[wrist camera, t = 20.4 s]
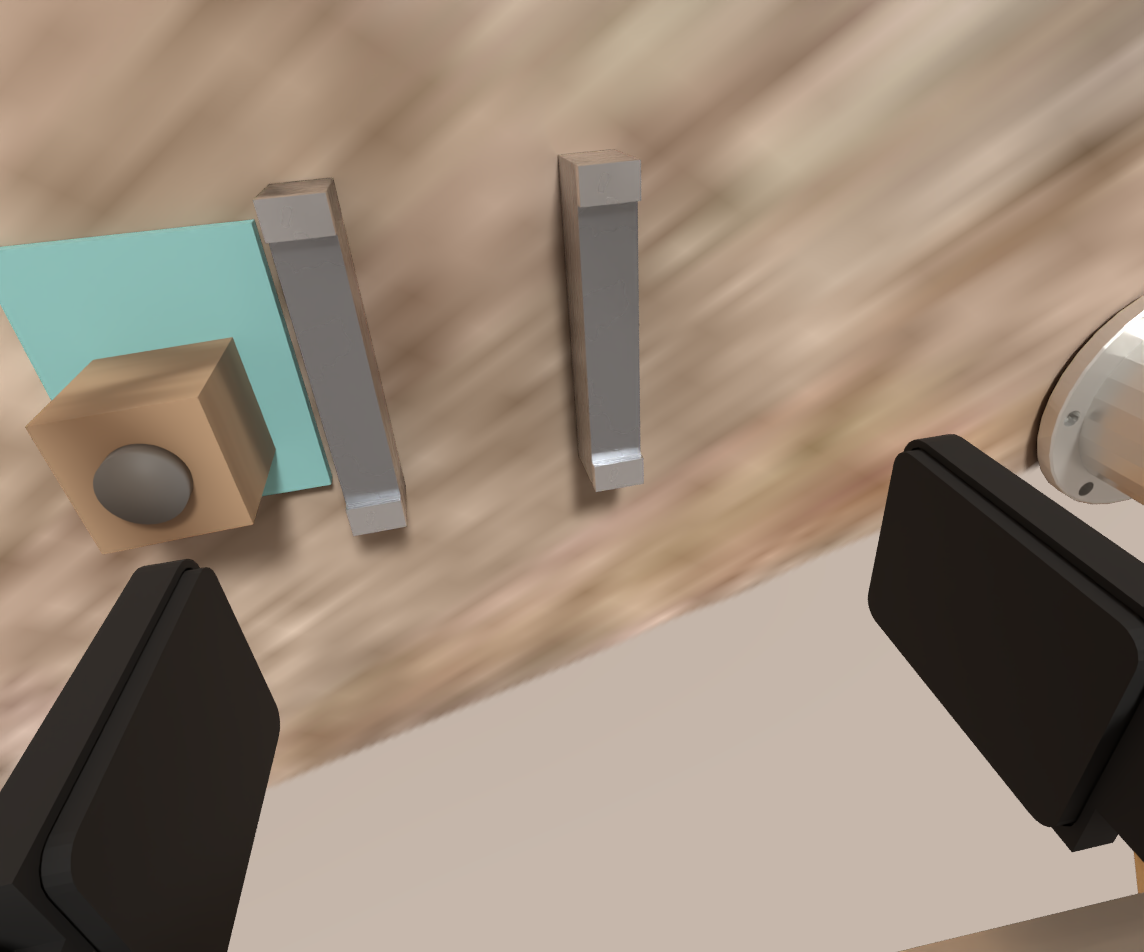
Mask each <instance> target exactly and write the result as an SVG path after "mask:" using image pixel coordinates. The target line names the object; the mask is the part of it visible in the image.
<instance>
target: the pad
mask: <svg viewBox="0 0 1144 952" xmlns="http://www.w3.org/2000/svg"><path fill="white" fill-rule="evenodd" d="M0 305H1V307H2V308H3V310H4V312H5V314H6V316H7V318H8V320H9V322H10V324H11V325H12V327H13V329H14V331H15V333H16V335H17V337H18V339H19V341H20V342H21V344H22V346H23V348H24V350H25V352H26V354H27V356H28V358H29V359H30V361H31V363H32V365H33V367H34V369H35V371H36V373H37V374H38V376H39V378H40V380H41V382H42V384H43V386H44V388H45V390H46V391H47V393H48V395H49V397H50V399H51V401H52V400H53V399H54V398H55V397H56V396H57V395H58V394H59V393H60V392H61V391H62V390H63V389H64V388H65V387H66V386H67V385H68V384H69V383H70V382H71V381H72V380H73V379H74V378H75V377H76V376H77V375H78V374H79V373H80V372H81V371H82V370H83V369H84V368H85V367H86V366H87V365H88V364H89V363H90V362H91V361H92V360H95V359H101V358H107V357H113V356H119V355H126V354H132V353H138V352H144V351H150V350H156V349H162V348H169V347H175V346H181V345H187V344H193V343H199V342H206V341H212V340H218V339H224V338H230V337H233V339H234V342H235V345H236V347H237V350H238V352H239V355H240V358H241V360H242V363H243V365H244V368H245V370H246V373H247V376H248V378H249V381H250V383H251V386H252V389H253V391H254V394H255V396H256V399H257V402H258V404H259V407H260V409H261V412H262V415H263V417H264V420H265V422H266V425H267V427H268V430H269V433H270V435H271V438H272V440H273V443H274V446H275V448H276V451H275V454H274V457H273V461H272V464H271V467H270V471H269V474H268V477H267V481H266V484H265V487H264V491H263V494H262V496H267V495H272V494H278V493H284V492H290V491H296V490H302V489H308V488H314V487H320V486H326V485H331V483H332V474H331V471H330V468H329V464H328V461H327V458H326V454H325V451H324V448H323V444H322V441H321V438H320V434H319V431H318V428H317V425H316V421H315V418H314V415H313V411H312V408H311V405H310V401H309V398H308V395H307V392H306V388H305V385H304V382H303V378H302V375H301V372H300V368H299V365H298V362H297V359H296V355H295V352H294V349H293V345H292V342H291V339H290V335H289V332H288V329H287V326H286V322H285V319H284V316H283V312H282V309H281V306H280V302H279V299H278V296H277V293H276V289H275V286H274V283H273V279H272V276H271V273H270V269H269V266H268V263H267V260H266V256H265V253H264V250H263V246H262V243H261V240H260V236H259V233H258V230H257V226H256V223H255V220H244V221H235V222H226V223H217V224H207V225H198V226H189V227H180V228H171V229H161V230H152V231H143V232H134V233H124V234H115V235H106V236H97V237H87V238H78V239H69V240H60V241H50V242H41V243H32V244H23V245H13V246H4V247H0Z"/></svg>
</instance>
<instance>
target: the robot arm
mask: <svg viewBox="0 0 1144 952" xmlns="http://www.w3.org/2000/svg"><path fill="white" fill-rule="evenodd" d="M1037 457H1038V461H1039V465H1040V469H1041V471H1042V473H1043V475H1044V476H1045V478H1046V479H1047V481H1048V482H1049V483H1050V484H1051V485H1053V486H1054V487H1055V488H1056V489H1057V490H1059V491H1060V492H1062V493H1064V494H1065V495H1067V496H1068V497H1070V498H1072V499H1074V500H1076V501H1079V502H1084V503H1089V504H1110V503H1114V502H1119V501H1124V500H1129V499H1131V498H1132V499H1134V500H1136V501H1138V502H1139V503H1141V504H1142V505H1144V295H1143V296H1141V297H1140V298H1139V299H1137V300H1136V301H1134V302H1133V303H1131V304H1130V305H1128V306H1127V307H1126V308H1124V309H1123V310H1121V311H1120V312H1119V313H1117V314H1116V315H1115V316H1114V317H1113V318H1112V319H1111V320H1109V321H1108V322H1107V323H1106V324H1105V325H1104V326H1103V327H1102V328H1100V329H1099V330H1098V331H1097V332H1096V333H1095V334H1094V335H1093V337H1092V338H1091V339H1090V340H1089V341H1088V342H1087V343H1086V344H1085V345H1084V346H1083V348H1082V349H1081V350H1080V351H1079V352H1078V353H1077V355H1076V356H1075V357H1074V359H1073V360H1072V362H1071V363H1070V364H1069V366H1068V367H1067V368H1066V370H1065V371H1064V373H1063V374H1062V376H1061V377H1060V379H1059V381H1058V383H1057V385H1056V386H1055V388H1054V390H1053V392H1052V394H1051V395H1050V398H1049V400H1048V403H1047V405H1046V408H1045V410H1044V413H1043V415H1042V419H1041V423H1040V428H1039V433H1038V438H1037ZM868 605H869V609H870V611H871V614H872V616H873V618H874V620H875V621H876V622H877V624H878V625H879V626H880V627H881V629H882V630H883V631H884V632H885V634H886V635H887V636H888V637H889V639H890V640H891V641H892V642H893V644H894V645H895V646H896V647H897V649H898V650H899V651H900V652H901V654H902V655H903V656H904V657H905V659H906V660H907V661H908V662H909V664H910V665H911V666H912V667H913V668H914V670H915V671H916V672H917V673H918V675H919V676H920V677H921V679H922V680H923V681H924V682H925V683H926V685H927V686H928V687H929V689H930V690H931V691H932V692H933V693H934V695H935V696H936V697H937V698H938V700H939V701H940V702H941V704H943V706H944V707H945V708H946V710H947V711H948V712H949V714H950V715H951V716H952V717H953V719H954V720H955V721H956V722H957V723H958V725H959V726H960V727H961V729H962V730H963V731H964V732H965V733H966V735H967V736H968V737H969V738H970V740H971V741H972V742H973V743H974V745H975V746H976V747H977V748H978V750H979V751H980V752H981V753H982V755H983V756H984V757H985V758H986V760H987V761H988V762H989V763H990V765H991V766H992V767H993V768H994V770H995V771H996V772H997V773H998V775H999V776H1000V777H1001V778H1002V780H1003V781H1004V782H1005V783H1006V785H1007V786H1008V787H1009V788H1010V789H1011V791H1012V792H1013V793H1014V795H1015V796H1016V797H1017V798H1018V800H1019V801H1020V802H1021V803H1022V804H1023V806H1024V807H1025V808H1026V810H1027V811H1028V812H1029V813H1030V814H1031V815H1032V816H1033V818H1034V819H1035V820H1036V821H1038V822H1039V823H1041V824H1042V825H1044V826H1047V827H1052V828H1053V829H1054V831H1055V832H1056V833H1057V834H1058V836H1059V837H1060V838H1061V839H1062V841H1063V842H1064V843H1065V844H1066V846H1067V847H1068V848H1069V849H1070V850H1071V852H1075V851H1080V850H1084V849H1088V848H1092V847H1096V846H1101V845H1104V844H1109V843H1113V842H1114V840H1115V839H1116V837H1117V835H1118V834H1119V835H1120V836H1121V838H1122V839H1123V840H1124V841H1125V842H1126V843H1127V844H1128V845H1129V847H1130V848H1131V849H1132V850H1133V851H1134V859H1135V869H1136V879H1137V888H1138V894H1135V895H1131V896H1126V897H1122V898H1119V899H1114V900H1110V901H1106V902H1101V903H1098V904H1093V905H1089V906H1085V907H1081V908H1077V909H1073V910H1068V911H1064V912H1060V913H1056V914H1052V915H1048V916H1043V917H1040V918H1035V919H1031V920H1027V921H1023V922H1019V923H1015V924H1010V925H1006V926H1002V927H998V928H994V929H990V930H986V931H981V932H977V933H973V934H969V935H965V936H960V937H957V938H952V939H949V940H944V941H940V942H936V943H932V944H927V945H923V946H919V947H915V948H911V949H907V950H903V951H899V952H1144V563H1142V562H1141V561H1139V560H1138V559H1136V558H1135V557H1134V556H1132V555H1131V554H1129V553H1128V552H1126V551H1125V550H1124V549H1122V548H1121V547H1119V546H1118V545H1116V544H1115V543H1113V542H1112V541H1111V540H1109V539H1108V538H1106V537H1105V536H1103V535H1102V534H1101V533H1099V532H1098V531H1096V530H1095V529H1093V528H1092V527H1090V526H1089V525H1088V524H1086V523H1084V522H1083V521H1082V520H1080V519H1079V518H1077V517H1076V516H1074V515H1073V514H1072V513H1070V512H1069V511H1067V510H1066V509H1064V508H1063V507H1061V506H1060V505H1059V504H1057V503H1056V502H1054V501H1053V500H1051V499H1050V498H1048V497H1047V496H1046V495H1044V494H1043V493H1041V492H1040V491H1038V490H1037V489H1035V488H1034V487H1032V486H1031V485H1030V484H1028V483H1027V482H1025V481H1024V480H1022V479H1021V478H1020V477H1018V476H1017V475H1015V474H1014V473H1012V472H1011V471H1009V470H1008V469H1007V468H1005V467H1004V466H1002V465H1001V464H999V463H998V462H996V461H995V460H994V459H992V458H991V457H989V456H988V455H986V454H985V453H983V452H982V451H981V450H979V449H978V448H976V447H975V446H973V445H972V444H970V443H969V442H968V441H966V440H965V439H963V438H962V437H960V436H957V435H955V434H948V435H942V436H936V437H929V438H923V439H917V440H913V441H911V442H909V443H908V445H907V446H906V447H905V449H904V452H902V453H900V454H898V456H897V457H896V458H895V461H894V465H893V470H892V475H891V480H890V485H889V491H888V496H887V501H886V506H885V511H884V516H883V521H882V526H881V531H880V536H879V542H878V547H877V552H876V557H875V562H874V568H873V572H872V577H871V583H870V588H869V593H868ZM279 732H280V718H279V712H278V708H277V705H276V703H275V701H274V699H273V697H272V695H271V692H270V690H269V688H268V686H267V684H266V682H265V680H264V677H263V675H262V673H261V671H260V669H259V667H258V664H257V662H256V660H255V658H254V656H253V654H252V652H251V649H250V647H249V645H248V643H247V641H246V639H245V636H244V634H243V632H242V630H241V628H240V626H239V624H238V621H237V619H236V617H235V615H234V613H233V611H232V609H231V606H230V604H229V602H228V600H227V598H226V596H225V593H224V591H223V589H222V587H221V585H220V583H219V581H218V578H217V576H216V575H215V573H214V571H213V570H212V569H210V568H207V567H205V568H200V567H199V566H198V564H197V563H195V562H194V561H193V560H190V559H184V560H178V561H172V562H166V563H160V564H154V565H147V566H143V567H140V568H138V569H137V570H136V571H135V572H134V573H133V575H132V577H131V578H130V580H129V582H128V583H127V585H126V587H125V588H124V590H123V592H122V593H121V595H120V596H119V598H118V600H117V601H116V603H115V605H114V606H113V608H112V610H111V611H110V613H109V614H108V616H107V618H106V619H105V621H104V623H103V624H102V626H101V628H100V629H99V631H98V633H97V634H96V636H95V637H94V639H93V641H92V642H91V644H90V646H89V647H88V649H87V651H86V652H85V654H84V656H83V657H82V659H81V660H80V662H79V664H78V665H77V667H76V669H75V670H74V672H73V674H72V675H71V677H70V678H69V680H68V682H67V683H66V685H65V687H64V688H63V690H62V692H61V693H60V695H59V697H58V698H57V700H56V701H55V703H54V705H53V706H52V708H51V710H50V711H49V713H48V715H47V716H46V718H45V720H44V721H43V723H42V724H41V726H40V728H39V729H38V731H37V733H36V734H35V736H34V738H33V739H32V741H31V742H30V744H29V746H28V747H27V749H26V751H25V752H24V754H23V756H22V757H21V759H20V761H19V762H18V764H17V765H16V767H15V769H14V770H13V772H12V774H11V775H10V777H9V779H8V780H7V782H6V784H5V785H4V787H3V788H2V790H1V792H0V952H227V950H228V945H229V941H230V937H231V933H232V929H233V925H234V921H235V917H236V913H237V908H238V904H239V900H240V896H241V892H242V888H243V883H244V879H245V875H246V870H247V866H248V862H249V858H250V854H251V850H252V845H253V842H254V837H255V833H256V829H257V824H258V821H259V816H260V812H261V808H262V804H263V800H264V796H265V792H266V787H267V783H268V779H269V775H270V771H271V767H272V762H273V758H274V754H275V750H276V746H277V742H278V737H279Z"/></svg>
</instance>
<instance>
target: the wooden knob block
mask: <svg viewBox="0 0 1144 952" xmlns="http://www.w3.org/2000/svg"><path fill="white" fill-rule="evenodd" d="M25 428H26V429H27V431H28V433H29V434H30V436H31V438H32V439H33V441H34V443H35V444H36V446H37V448H38V449H39V451H40V452H41V454H42V456H43V457H44V459H45V461H46V462H47V464H48V466H49V467H50V469H51V471H52V472H53V474H54V475H55V477H56V479H57V480H58V482H59V484H60V485H61V487H62V489H63V490H64V492H65V494H66V495H67V497H68V499H69V500H70V502H71V503H72V505H73V507H74V508H75V510H76V512H77V513H78V515H79V517H80V518H81V520H82V522H83V523H84V525H85V526H86V528H87V530H88V531H89V533H90V535H91V536H92V538H93V540H94V541H95V543H96V545H97V546H98V548H99V550H100V551H101V553H102V554H108V553H113V552H118V551H123V550H128V549H133V548H138V547H143V546H148V545H153V544H158V543H163V542H168V541H173V540H178V539H183V538H188V537H193V536H198V535H203V534H208V533H213V532H218V531H223V530H228V529H233V528H238V527H243V526H248V525H253V524H254V520H255V517H256V514H257V510H258V507H259V504H260V500H261V497H262V494H263V491H264V487H265V484H266V481H267V477H268V474H269V471H270V467H271V464H272V461H273V457H274V454H275V451H276V448H275V446H274V443H273V440H272V438H271V435H270V433H269V430H268V427H267V425H266V422H265V420H264V417H263V415H262V412H261V409H260V407H259V404H258V402H257V399H256V396H255V394H254V391H253V389H252V386H251V383H250V381H249V378H248V376H247V373H246V370H245V368H244V365H243V363H242V360H241V358H240V355H239V352H238V350H237V347H236V345H235V342H234V339H233V337H230V338H224V339H218V340H212V341H206V342H199V343H193V344H187V345H181V346H175V347H169V348H162V349H156V350H150V351H144V352H138V353H132V354H126V355H119V356H113V357H107V358H101V359H95V360H92V361H91V362H90V363H89V364H88V365H87V366H86V367H85V368H84V369H83V370H82V371H81V372H80V373H79V374H78V375H77V376H76V377H75V378H74V379H73V380H72V381H71V382H70V383H69V384H68V385H67V386H66V387H65V388H64V389H63V390H62V391H61V392H60V393H59V394H58V395H57V396H56V397H55V398H54V399H53V400H52V401H51V402H50V403H49V404H48V405H47V406H46V407H45V408H44V409H43V410H42V411H41V412H40V413H39V414H38V415H37V416H36V417H35V418H34V419H33V420H32V421H31V422H30V423H29V424H28V425H27V426H26V427H25Z"/></svg>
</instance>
